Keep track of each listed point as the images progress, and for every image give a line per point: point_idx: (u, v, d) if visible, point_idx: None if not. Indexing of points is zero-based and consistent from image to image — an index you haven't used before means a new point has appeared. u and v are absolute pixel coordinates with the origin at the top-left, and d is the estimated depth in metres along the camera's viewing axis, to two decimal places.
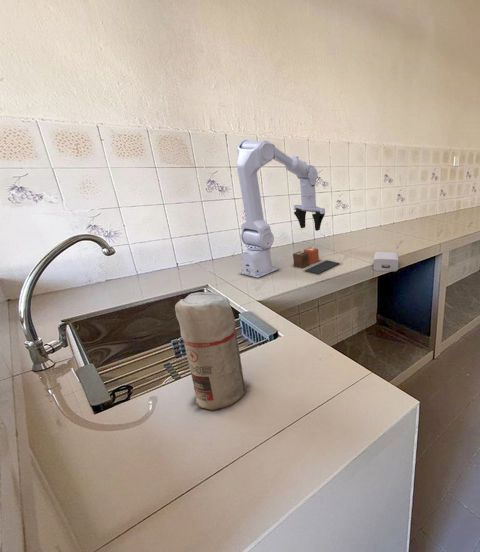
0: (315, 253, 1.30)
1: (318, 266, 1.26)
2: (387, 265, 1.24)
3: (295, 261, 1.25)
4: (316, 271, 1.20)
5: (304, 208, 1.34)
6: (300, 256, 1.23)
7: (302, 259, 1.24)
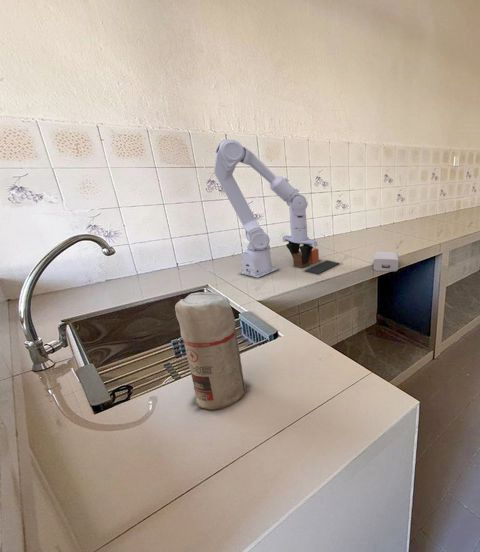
0: (315, 253, 1.30)
1: (318, 266, 1.26)
2: (387, 265, 1.24)
3: (295, 261, 1.25)
4: (316, 271, 1.20)
5: (294, 241, 1.21)
6: (300, 256, 1.23)
7: (302, 259, 1.24)
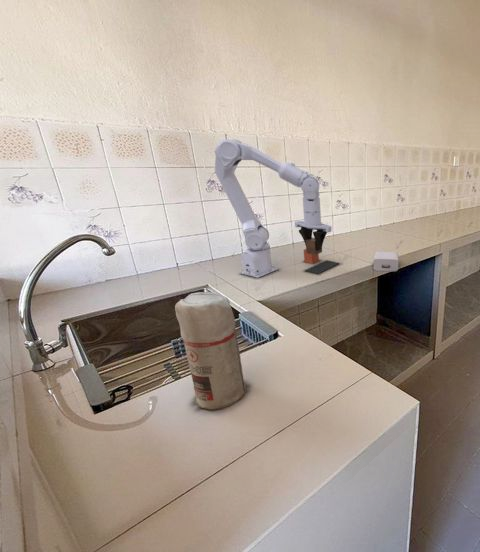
0: None
1: (318, 266, 1.26)
2: (387, 265, 1.24)
3: (308, 248, 1.19)
4: (316, 271, 1.20)
5: (307, 226, 1.15)
6: (313, 242, 1.17)
7: (315, 245, 1.18)
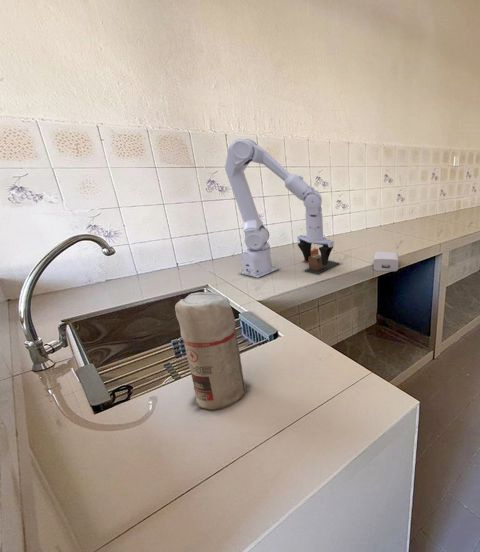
0: (315, 253, 1.30)
1: None
2: (387, 265, 1.24)
3: (310, 264, 1.21)
4: (316, 271, 1.20)
5: (310, 240, 1.16)
6: (316, 259, 1.19)
7: (318, 262, 1.20)
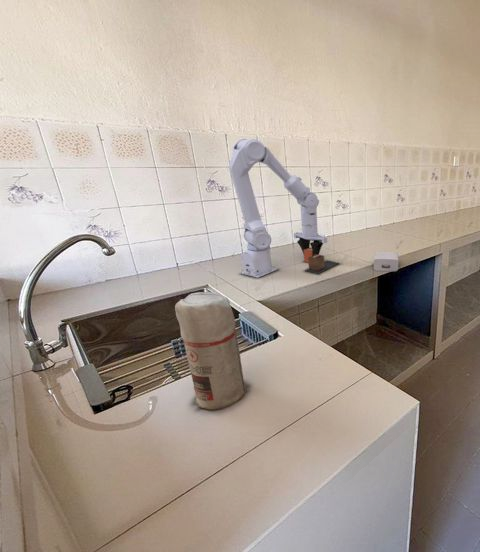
0: None
1: None
2: (387, 265, 1.24)
3: (310, 264, 1.21)
4: (316, 271, 1.20)
5: (305, 237, 1.26)
6: (316, 259, 1.19)
7: (318, 262, 1.20)
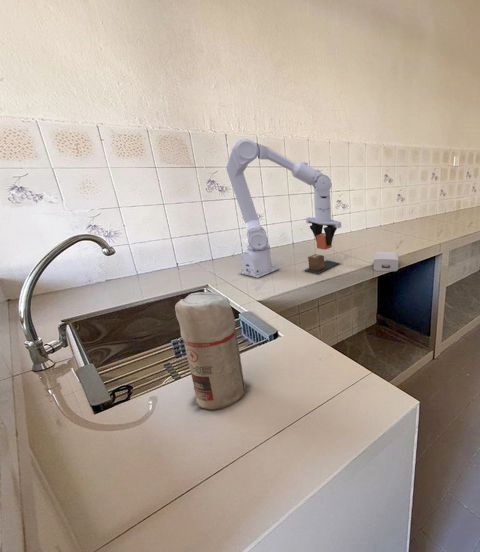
0: None
1: None
2: (387, 265, 1.24)
3: (310, 264, 1.21)
4: (316, 271, 1.20)
5: (318, 222, 1.20)
6: (316, 259, 1.19)
7: (318, 262, 1.20)
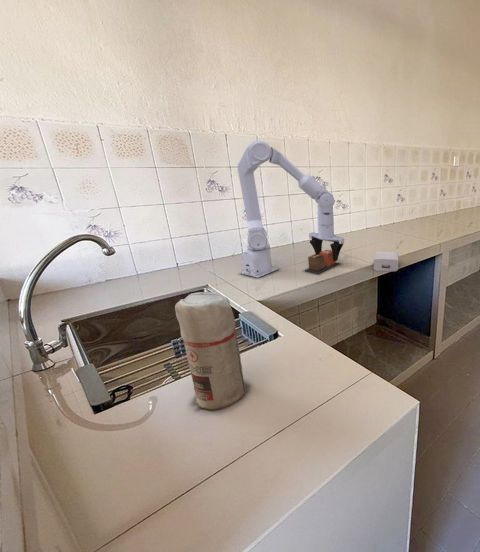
0: (331, 255, 1.27)
1: None
2: (387, 265, 1.24)
3: (310, 264, 1.21)
4: (316, 271, 1.20)
5: (321, 237, 1.22)
6: (316, 259, 1.19)
7: (318, 262, 1.20)
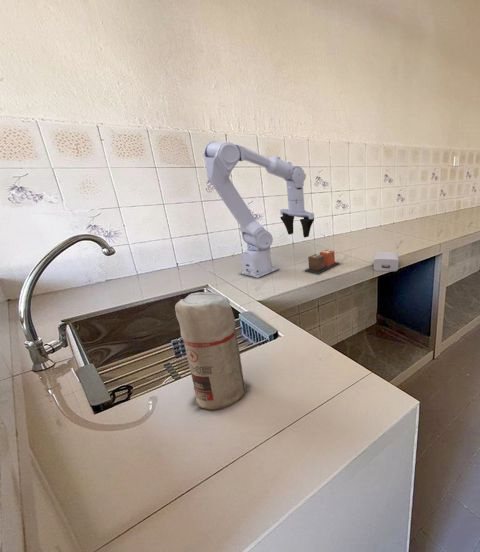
0: (331, 255, 1.27)
1: None
2: (387, 265, 1.24)
3: (310, 264, 1.21)
4: (316, 271, 1.20)
5: (291, 213, 1.22)
6: (316, 259, 1.19)
7: (318, 262, 1.20)
